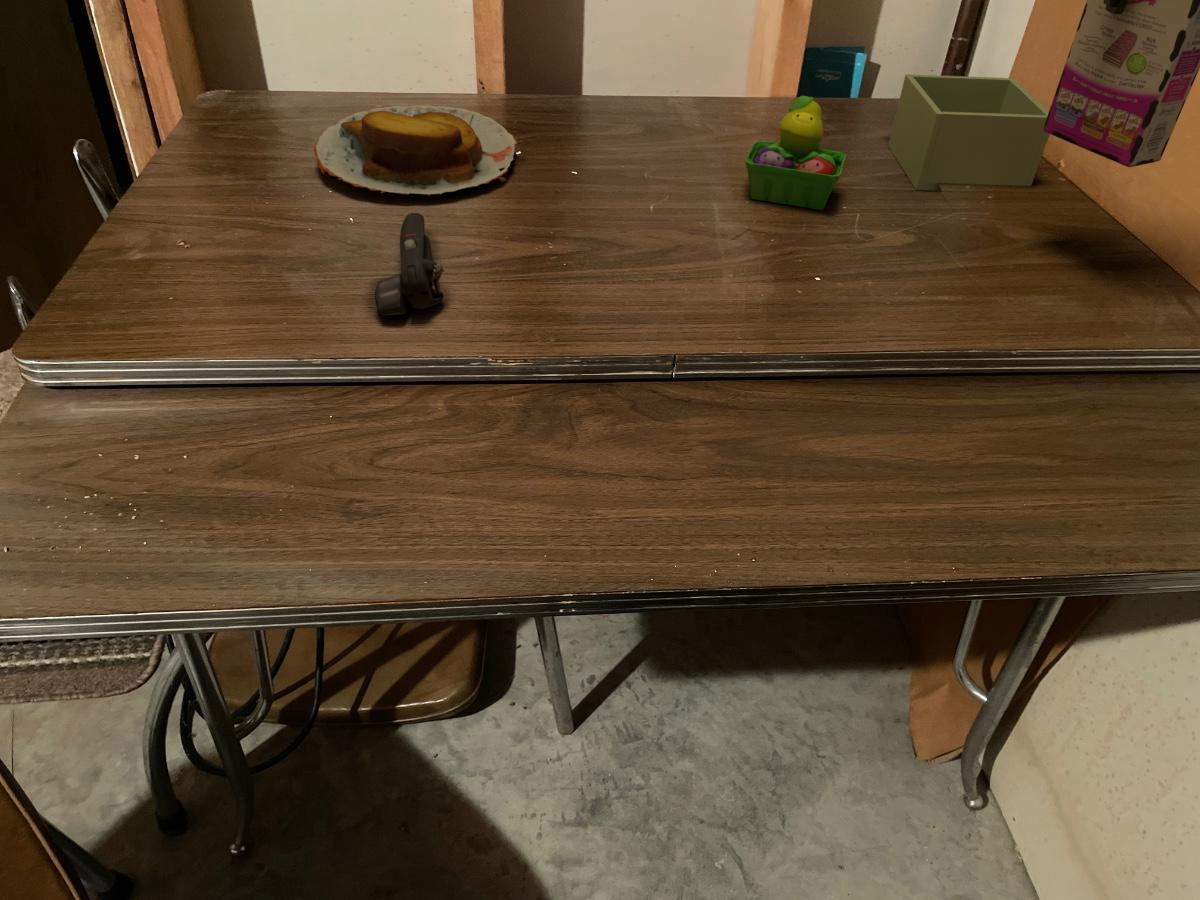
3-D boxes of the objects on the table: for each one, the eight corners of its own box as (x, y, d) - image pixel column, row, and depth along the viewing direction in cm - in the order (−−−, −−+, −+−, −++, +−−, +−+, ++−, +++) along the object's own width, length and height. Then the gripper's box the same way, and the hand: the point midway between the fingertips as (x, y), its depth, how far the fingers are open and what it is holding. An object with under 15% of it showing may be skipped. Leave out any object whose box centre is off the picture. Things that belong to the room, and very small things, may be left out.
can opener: (446, 325, 88) (442, 273, 85) (373, 327, 88) (365, 274, 84) (452, 240, 102) (448, 192, 98) (388, 240, 101) (382, 192, 98)
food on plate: (513, 126, 128) (512, 78, 124) (523, 204, 110) (522, 150, 105) (328, 127, 125) (320, 78, 121) (305, 207, 107) (295, 152, 102)
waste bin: (990, 149, 128) (1013, 78, 122) (1028, 194, 117) (1055, 117, 111) (887, 146, 128) (905, 74, 122) (915, 190, 117) (936, 113, 111)
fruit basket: (738, 201, 112) (751, 109, 105) (751, 174, 119) (764, 85, 112) (831, 217, 110) (851, 123, 103) (839, 188, 116) (859, 98, 109)
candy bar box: (1162, 161, 91) (1241, -18, 81) (1128, 170, 89) (1204, -13, 79) (1072, 124, 99) (1133, -46, 88) (1039, 130, 97) (1097, -42, 86)
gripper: (1293, -205, 78) (1205, 5, 89) (1128, -211, 78) (1059, 0, 89) (1349, -196, 73) (1247, 27, 83) (1170, -203, 72) (1091, 22, 83)
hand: (1150, 12), depth 86 cm, fingers closed on candy bar box, 6 cm apart
